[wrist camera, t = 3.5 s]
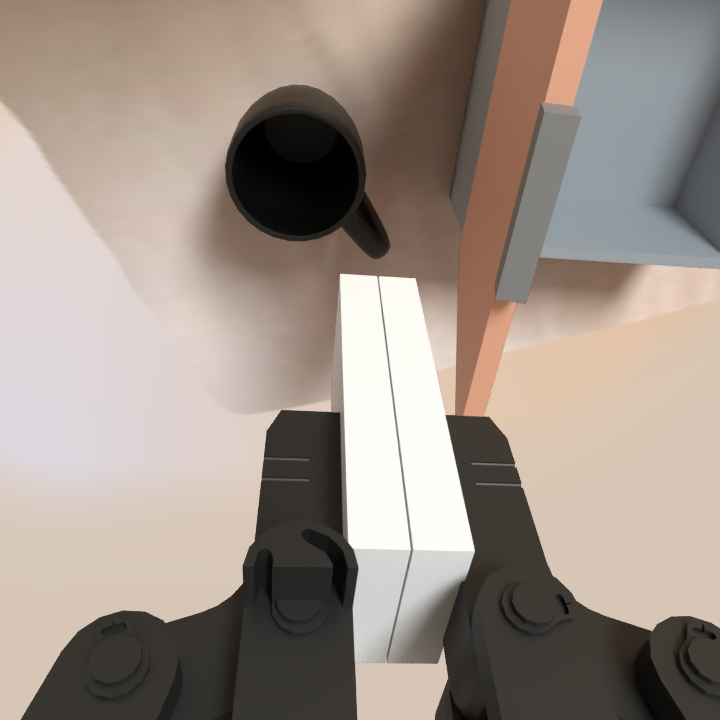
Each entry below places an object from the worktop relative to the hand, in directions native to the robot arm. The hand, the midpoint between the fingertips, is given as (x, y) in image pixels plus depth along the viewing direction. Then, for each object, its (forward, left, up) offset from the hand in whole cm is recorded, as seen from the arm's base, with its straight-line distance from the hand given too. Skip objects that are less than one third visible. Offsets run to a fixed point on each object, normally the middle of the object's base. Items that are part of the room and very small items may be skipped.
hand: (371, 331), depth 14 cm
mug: (-1, -8, -34) cm, 35 cm away
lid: (+7, 0, -16) cm, 17 cm away
